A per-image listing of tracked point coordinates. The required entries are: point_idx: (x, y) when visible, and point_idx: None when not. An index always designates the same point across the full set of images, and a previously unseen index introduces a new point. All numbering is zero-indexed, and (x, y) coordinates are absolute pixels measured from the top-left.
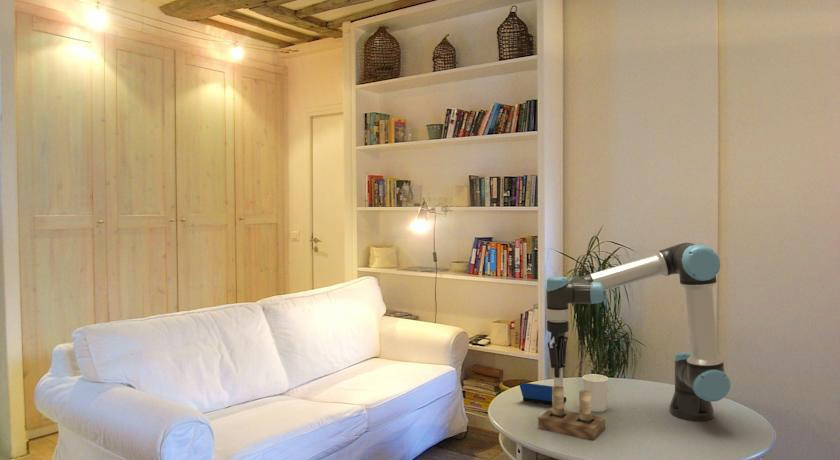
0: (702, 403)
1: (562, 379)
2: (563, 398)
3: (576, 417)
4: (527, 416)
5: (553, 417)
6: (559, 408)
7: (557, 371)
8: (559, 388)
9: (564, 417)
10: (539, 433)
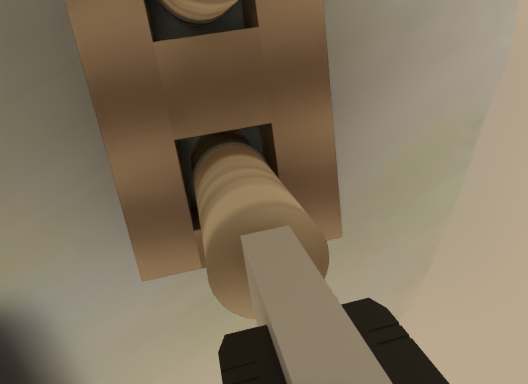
0: None
1: (264, 273)
2: (236, 176)
3: (190, 58)
4: (215, 340)
5: (291, 173)
6: (268, 166)
7: (434, 376)
8: (295, 231)
9: (246, 121)
10: (372, 171)
